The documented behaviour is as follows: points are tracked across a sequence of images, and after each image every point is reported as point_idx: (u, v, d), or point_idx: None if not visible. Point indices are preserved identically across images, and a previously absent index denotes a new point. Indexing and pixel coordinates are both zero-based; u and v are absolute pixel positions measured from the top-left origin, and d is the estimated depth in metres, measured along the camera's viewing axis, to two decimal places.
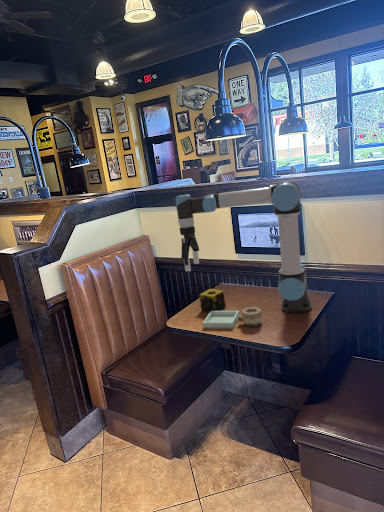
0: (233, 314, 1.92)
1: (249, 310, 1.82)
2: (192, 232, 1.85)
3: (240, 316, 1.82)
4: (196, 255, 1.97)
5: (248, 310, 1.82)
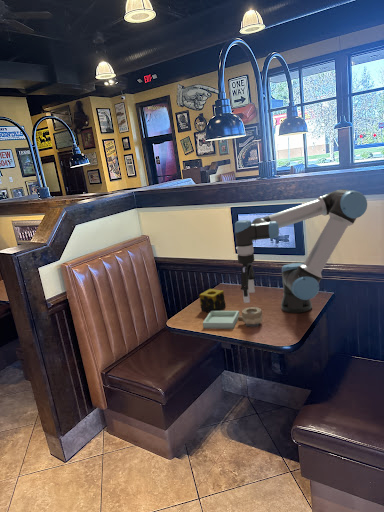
0: (233, 314, 1.92)
1: (249, 310, 1.82)
2: (252, 261, 1.71)
3: (240, 316, 1.82)
4: (252, 284, 1.83)
5: (248, 310, 1.82)
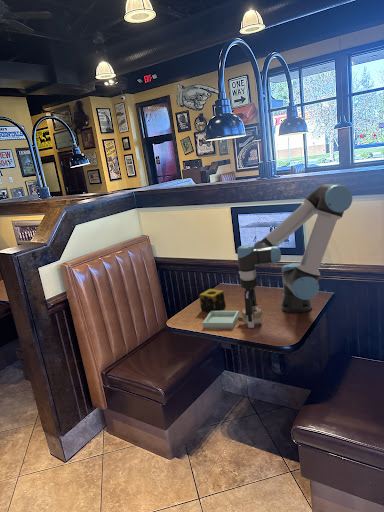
0: (233, 314, 1.92)
1: None
2: (254, 285, 1.74)
3: (240, 316, 1.82)
4: None
5: None
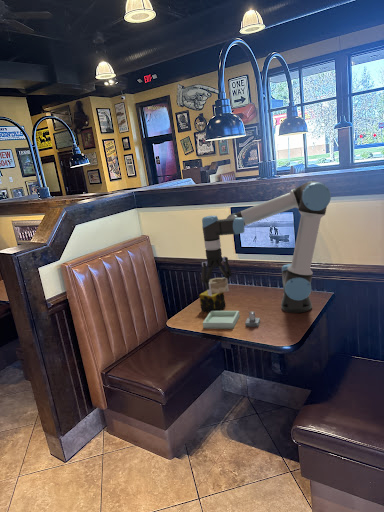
0: (233, 314, 1.92)
1: (219, 280, 1.86)
2: (213, 256, 1.77)
3: None
4: None
5: (218, 280, 1.86)
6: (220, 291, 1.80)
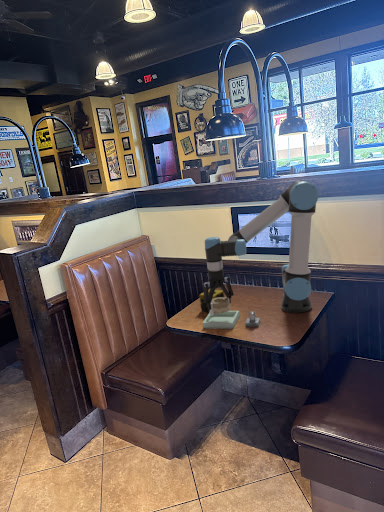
0: (233, 314, 1.92)
1: (221, 300, 1.88)
2: (215, 277, 1.79)
3: None
4: None
5: (220, 300, 1.88)
6: (222, 311, 1.82)
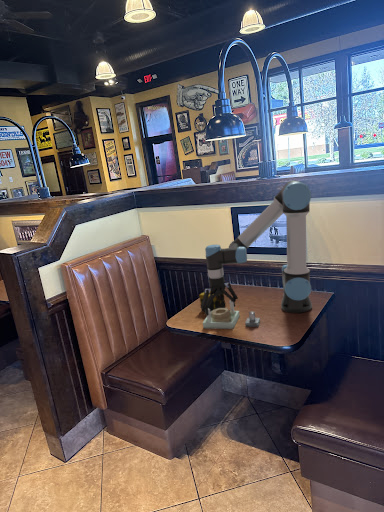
0: (233, 314, 1.92)
1: (223, 310, 1.89)
2: (216, 284, 1.80)
3: None
4: (231, 305, 1.89)
5: (221, 310, 1.90)
6: None
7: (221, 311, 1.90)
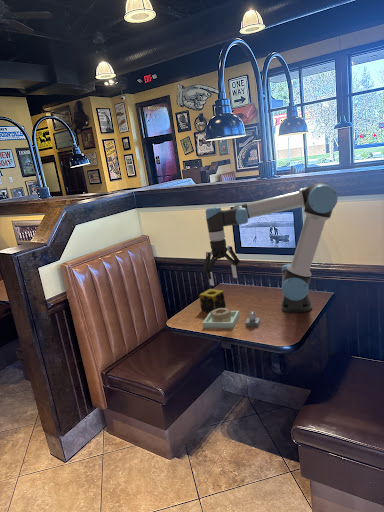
0: (233, 314, 1.92)
1: (223, 310, 1.89)
2: (218, 247, 1.78)
3: None
4: (234, 269, 1.87)
5: (221, 310, 1.90)
6: None
7: (221, 311, 1.90)
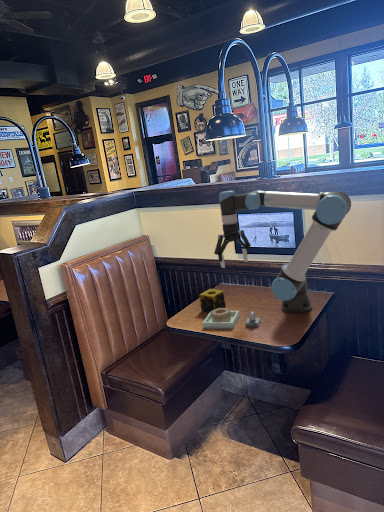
0: (233, 314, 1.92)
1: (223, 310, 1.89)
2: (230, 230, 1.82)
3: None
4: (244, 253, 1.91)
5: (221, 310, 1.90)
6: None
7: (221, 311, 1.90)
